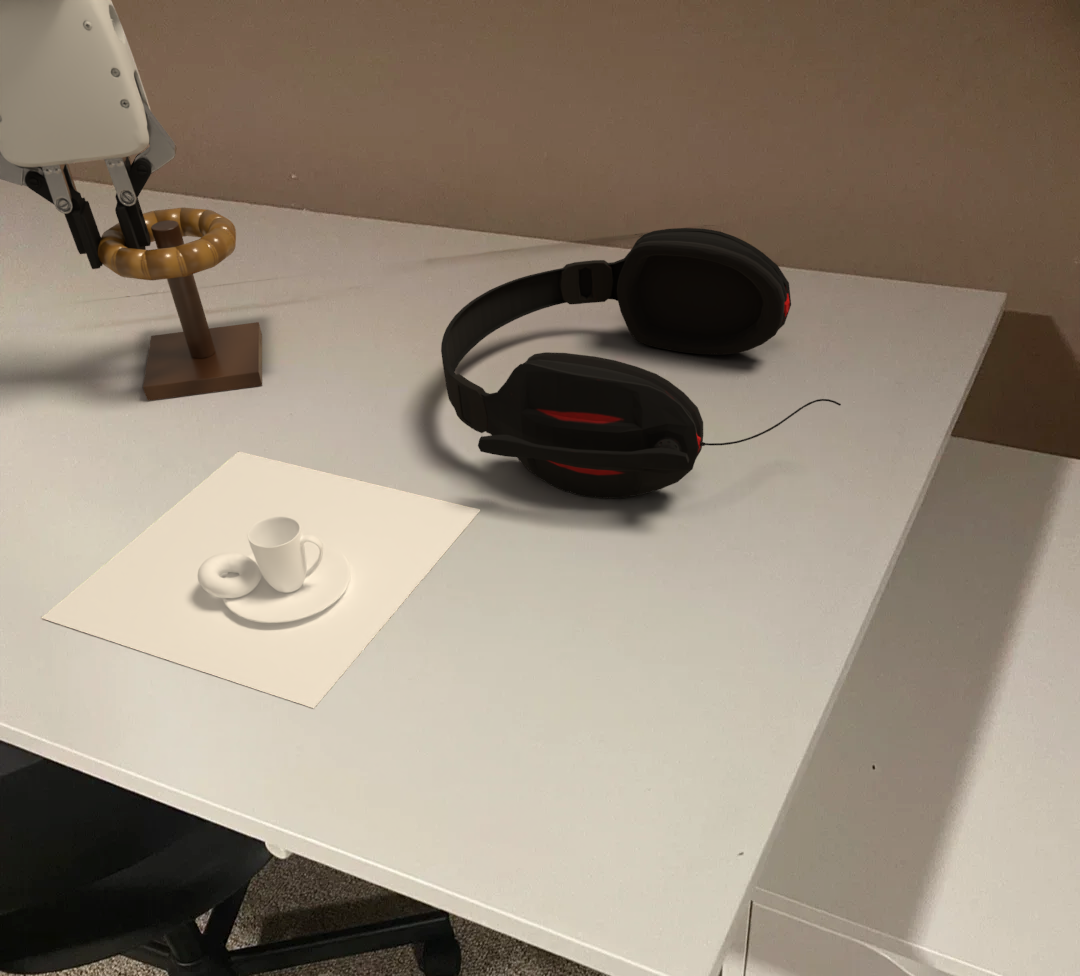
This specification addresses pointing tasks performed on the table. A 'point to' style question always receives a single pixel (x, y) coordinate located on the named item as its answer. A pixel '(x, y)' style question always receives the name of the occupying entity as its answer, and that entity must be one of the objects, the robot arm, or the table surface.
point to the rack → (198, 343)
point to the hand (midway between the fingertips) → (118, 257)
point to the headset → (611, 386)
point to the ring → (174, 260)
